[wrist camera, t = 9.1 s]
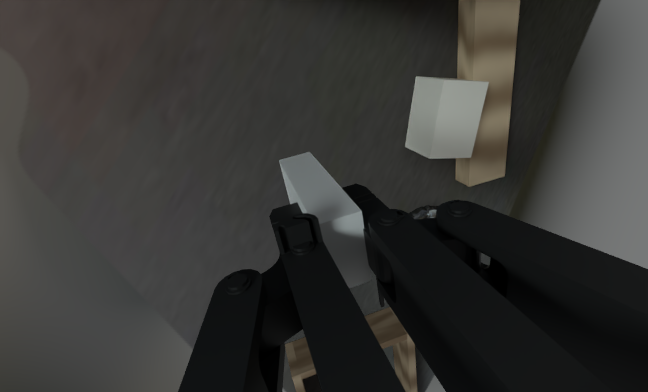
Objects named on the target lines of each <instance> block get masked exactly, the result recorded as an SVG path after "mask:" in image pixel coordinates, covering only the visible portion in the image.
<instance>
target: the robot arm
mask: <svg viewBox="0 0 648 392" xmlns="http://www.w3.org/2000/svg"><path fill="white" fill-rule="evenodd" d="M279 162H280V166H281V170H282V174H283V178H284V181H285V185H286V189H287V193H288V197H289V201H290V204H289V205H286V206H283V207H279V208H276V209H273V210H272V212H271V215H270V220H271V224H272V227H273V230H274V234H275V237H276V241H277V244H278V247H279V251H280V256H279V259H278V261H277V262H276V263H275V264H274V265H273V266H272V267H271V268H270V269H268V270H267V271H265V272H264V273H262V274H260V273H259V272H258V271H256V270H252V269H244V270H240V271H236V272H233V273H231V274H230V275H228V276H226V277H225V278H224V279H222V280H221V281H220V282H219V283H218V285H217V286H216V288H215V290H214V293H213V295H212V298H211V301H210V304H209V307H208V309H207V312H206V315H205V318H204V321H203V323H202V326H201V329H200V332H199V335H198V338H197V340H196V343H195V346H194V349H193V352H192V354H191V357H190V360H189V363H188V366H187V368H186V371H185V375H184V377H183V380H182V383H181V385H180V388H179V391H178V392H282V387H283V372H284V357H285V344H284V342H285V341H286V340H288V339H289V338H291V337H292V336H294V335H295V334H296V333H298V332H299V331H301V330H302V329H303V331H304V334H305V337H306V341H307V344H308V347H309V351H310V354H311V357H312V360H313V364H314V367H315V370H316V374H317V377H318V380H319V383H320V387H321V390H322V392H406V391H405V389H404V388H403V386H402V384H401V382H400V380H399V378H398V377H397V375H396V373H395V371H394V369H393V368H392V366H391V364H390V362H389V360H388V358H387V357H386V355H385V353H384V351H383V349H382V347H381V346H380V344H379V342H378V340H377V338H376V337H375V335H374V333H373V331H372V329H371V327H370V326H369V324H368V322H367V320H366V318H365V317H364V315H363V313H362V311H361V309H360V307H359V306H358V304H357V302H356V300H355V298H354V296H353V295H352V293H351V291H350V289H349V288H352V287H354V286H357V285H360V284H363V283H366V282H369V281H371V280H372V276H371V270H370V268H371V269H372V271H373V272H374V274H375V275H376V280H377V287H378V294H379V301H380V305H381V307H384V298H385V300H386V301H387V303H388V304H389V306H390V308H391V309H392V311H393V312H394V314H395V315H396V317H397V318H398V320H399V321H400V323H401V324H402V326H403V327H404V329H405V330H406V332H407V333H408V335H409V336H410V338H411V339H412V341H413V342H414V344H415V345H416V347H417V348H418V350H419V351H420V353H421V354H422V356H423V357H424V359H425V361H426V362H427V364H428V365H429V367H430V368H431V370H432V371H433V373H434V374H435V376H436V377H437V379H438V380H439V382H440V383H441V385H442V386H443V388H444V389H445V391H446V392H648V269H646V268H643V267H641V266H638V265H635V264H633V263H630V262H628V261H625V260H622V259H620V258H617V257H614V256H612V255H609V254H607V253H604V252H601V251H599V250H596V249H593V248H591V247H588V246H586V245H583V244H580V243H578V242H575V241H572V240H570V239H567V238H565V237H562V236H559V235H557V234H554V233H551V232H549V231H546V230H543V229H541V228H538V227H535V226H533V225H530V224H528V223H525V222H523V221H520V220H517V219H515V218H512V217H509V216H507V215H504V214H502V213H499V212H496V211H494V210H491V209H488V208H486V207H483V206H481V205H478V204H475V203H472V202H468V201H460V200H454V201H448V202H446V203H443V204H441V205H440V206H438V207H437V210H436V217H434V218H425V219H414V218H413V217H412V216H411V215H409V214H408V213H406V212H404V211H402V210H397V209H389V208H388V207H387V206H386V205H385V204H384V203H382V202H381V201H380V200H379V199H378V198H376V196H375V195H374V194H373V193H371V191H370V190H369V189H367V188H366V187H364V186H361V185H358V184H354V185H350V186H347V187H343V188H341V187H340V186H339V185H338V184H337V182H336V181H335V180H334V179H333V178H332V177H331V176H330V175H329V173H328V172H327V171H326V170H325V169H324V168H323V167H322V166H321V164H320V163H319V162H318V161H317V160H316V159H315V158H314V156H313V155H312V154H311V153H310V152H307V153H304V154H300V155H296V156H292V157H289V158H285V159H281V160H279ZM481 253H483V254H485V255H487V256H489V257H491V260H490V266H488V265H485V264H483V263H481Z"/></svg>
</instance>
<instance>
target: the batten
mask: <svg viewBox="0 0 648 392" xmlns="http://www.w3.org/2000/svg"><path fill="white" fill-rule="evenodd" d="M519 8H520V0H459V9H458V67H457V79H465V80H474V81H484V82H489V84H488V88H487V92H486V96H485V101H484V105H483V109H482V113H481V117H480V122H479V126H478V130H477V134H476V139H475V143H474V147H473V151H472V155H471V158H456V180H457V181H459V182H461V183H463V184H465V185H467V186H468V187H470V186H473V185H477V184H480V183H484V182H487V181H490V180H494V179H497V178H501V177H504V176H505V167H506V156H507V145H508V133H509V122H510V111H511V99H512V88H513V76H514V65H515V54H516V42H517V31H518V19H519Z"/></svg>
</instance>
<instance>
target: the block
mask: <svg viewBox="0 0 648 392" xmlns="http://www.w3.org/2000/svg"><path fill="white" fill-rule="evenodd" d="M488 84H489V82H484V81H474V80H465V79H454V78H436V77H418V76H416V80H415V87H414V93H413V99H412V106H411V112H410V118H409V125H408V131H407V138H406V144H405V147H407V148H409V149H411V150H413V151H415V152H417V153H419V154H421V155H423V156H425V157H427V158H429V159H441V158H471V155H472V151H473V147H474V143H475V139H476V134H477V130H478V126H479V122H480V117H481V113H482V109H483V105H484V101H485V96H486V92H487V88H488Z"/></svg>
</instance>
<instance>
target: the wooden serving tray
mask: <svg viewBox="0 0 648 392" xmlns="http://www.w3.org/2000/svg"><path fill="white" fill-rule="evenodd" d="M364 317H365V318H366V320H367V322H368V324H369V326H370V327H371V329H372V331H373V333H374V335H375V337H376V338H377V340H378V342H379V344H380V346H381V347H382V349H384V348H386V347H389V346H391V345H393V353H394V363H395V373H396V375H397V377H398V378H399V380H400V382H401V384H402V386H403V388H404V389H405V391H406V392H417V377H416V359H415V344H414V342H413V341H412V339H411V338H410V336H409V335H408V333H407V332H406V330H405V329H404V327H403V326H402V324H401V323H400V321H399V320H398V318H397V317H396V315H395V314H394V312H393V311H392V309H391V308H390V307H389V308H386V309H383V310H380V311H378V312H375V313H372V314H369V315H366V316H364ZM285 348H286V352H287V357H288V361H289V366H290V370H291V375H292V379H293V382H294V385H295V388H296V392H306V389H305V386H304V382H303V379H304V378H307V377H310V376H312V375H315V374H316V370H315V367H314V364H313V360H312V357H311V354H310V351H309V347H308V344H307V341H306V337H304V338H301V339H299V340H296V341H293V342H290V343H287V344H285Z"/></svg>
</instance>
